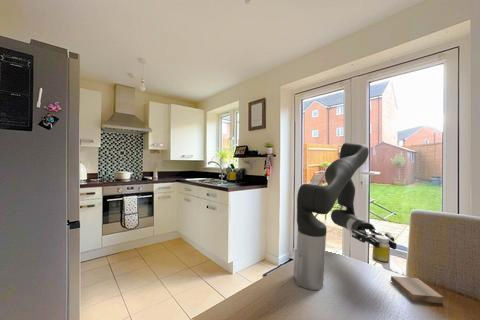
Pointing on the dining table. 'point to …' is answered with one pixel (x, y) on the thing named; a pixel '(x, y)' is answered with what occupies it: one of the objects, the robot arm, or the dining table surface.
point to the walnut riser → (416, 290)
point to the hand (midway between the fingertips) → (386, 245)
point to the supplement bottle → (381, 250)
